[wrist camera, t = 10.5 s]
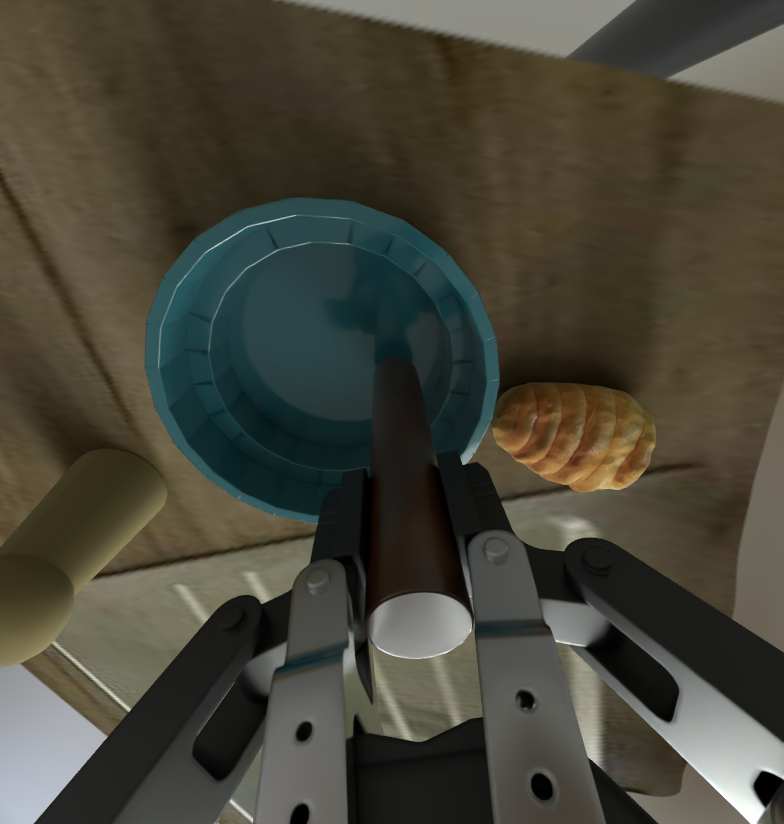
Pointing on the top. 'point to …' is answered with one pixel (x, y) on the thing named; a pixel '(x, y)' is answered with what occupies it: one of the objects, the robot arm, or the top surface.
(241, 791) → the top surface
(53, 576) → the cork
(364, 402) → the bowl
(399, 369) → the stirring stick
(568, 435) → the pastry
